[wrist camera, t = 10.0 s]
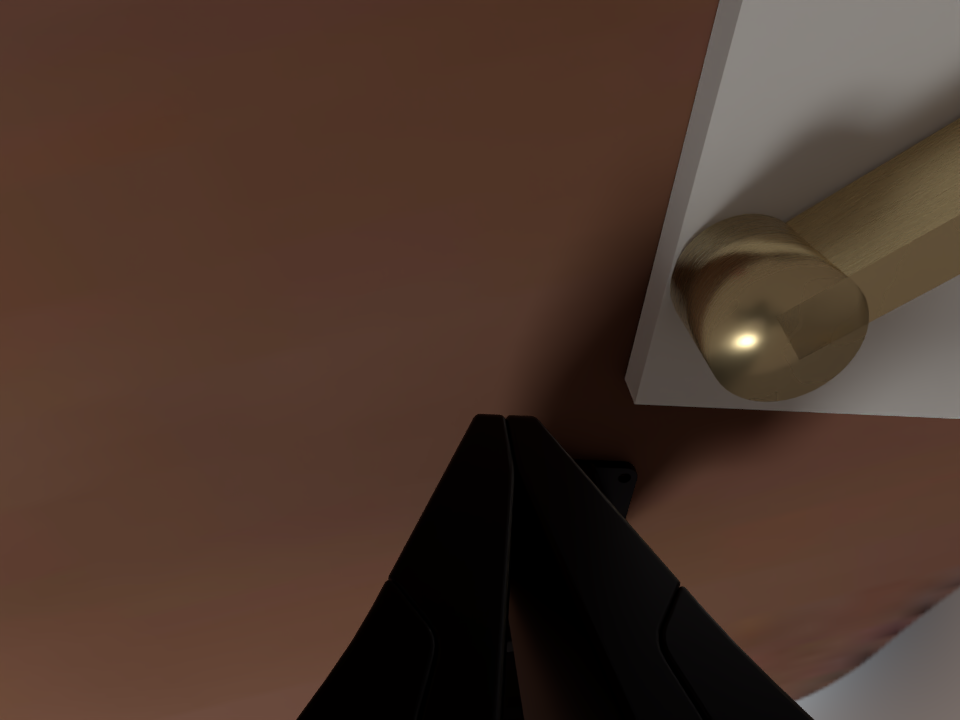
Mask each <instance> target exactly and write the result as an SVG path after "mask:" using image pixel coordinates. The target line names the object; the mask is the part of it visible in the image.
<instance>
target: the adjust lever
mask: <svg viewBox="0 0 960 720" xmlns="http://www.w3.org/2000/svg"><path fill="white" fill-rule="evenodd" d="M958 275H960V118H959V119H957V120H955V121H954V122H952V123H950V124H949V125H947V126H945V127H944V128H942V129H940V130H939V131H937V132H935V133H934V134H932V135H930V136H929V137H927V138H925V139H924V140H922V141H920V142H919V143H917V144H915V145H914V146H912V147H910V148H909V149H907V150H905V151H904V152H902V153H900V154H899V155H897V156H895V157H894V158H892V159H890V160H889V161H887V162H885V163H884V164H882V165H880V166H879V167H877V168H875V169H874V170H872V171H870V172H869V173H867V174H865V175H864V176H862V177H860V178H859V179H857V180H855V181H854V182H852V183H850V184H849V185H847V186H846V187H844V188H842V189H841V190H839V191H837V192H836V193H834V194H832V195H831V196H829V197H827V198H826V199H824V200H822V201H821V202H819V203H817V204H816V205H814V206H812V207H811V208H809V209H807V210H806V211H804V212H802V213H801V214H799V215H797V216H796V217H794V218H792V219H791V220H789V221H787V222H786V223H785V222H784V221H782V220H780V219H778V218H775V217H772V216H768V215H764V214H743V215H738V216H734V217H730V218H727V219H724V220H722V221H720V222H717V223H715V224H714V225H712V226H710V227H708V228H707V229H705V230H704V231H703V232H701V233H700V234H699V235H698V236H696V237H695V238H694V239H693V240H692V241H691V242H690V243H689V244H688V246H687V247H686V248H685V249H684V251H683V252H682V253H681V255H680V257H679V259H678V260H677V262H676V265H675V267H674V270H673V273H672V277H671V283H670V294H671V300H672V303H673V306H674V308H675V310H676V312H677V314H678V316H679V317H680V319H681V321H682V322H683V324H684V326H685V327H686V329H687V331H688V332H689V334H690V336H691V337H692V339H693V341H694V342H695V344H696V346H697V347H698V349H699V351H700V352H701V354H702V356H703V358H704V359H705V361H706V363H707V364H708V366H709V368H710V369H711V371H712V373H713V374H714V376H715V378H716V379H717V380H718V382H719V383H720V384H721V385H722V386H723V387H724V388H725V389H726V390H728V391H729V392H731V393H732V394H734V395H736V396H738V397H741V398H744V399H747V400H752V401H759V402H775V401H782V400H788V399H792V398H796V397H798V396H801V395H804V394H807V393H809V392H811V391H813V390H815V389H817V388H819V387H821V386H822V385H824V384H826V383H827V382H828V381H830V380H831V379H833V378H834V377H835V376H836V375H838V374H839V373H840V372H841V371H842V370H843V369H844V368H845V367H846V366H847V365H848V364H849V363H850V362H851V360H852V359H853V358H854V357H855V355H856V353H857V352H858V350H859V349H860V347H861V345H862V343H863V341H864V339H865V336H866V333H867V329H868V324H869V323H870V322H871V321H873V320H875V319H877V318H879V317H881V316H883V315H885V314H886V313H888V312H890V311H892V310H894V309H896V308H898V307H900V306H902V305H903V304H905V303H907V302H909V301H911V300H913V299H915V298H917V297H918V296H920V295H922V294H924V293H926V292H928V291H930V290H932V289H934V288H935V287H937V286H939V285H941V284H943V283H945V282H947V281H949V280H950V279H952V278H954V277H956V276H958Z"/></svg>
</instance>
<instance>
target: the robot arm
mask: <svg viewBox="0 0 960 720" xmlns="http://www.w3.org/2000/svg"><path fill="white" fill-rule="evenodd" d="M624 473H627V474H626V475H624V476H620V475H621V474H624ZM636 481H637V473H636V470H635V467H634V466H633V464H631V463H630V462H624V461H597V460H573V459H572V458H571V457H570V456H569V454H568V453H567V452H566V451H565V450H564V449H563V448H562V446H561V445H560V444H559V443H558V442H557V441H556V440H555V438H554V437H553V436H552V435H551V434H550V433H549V432H548V430H547V429H546V428H545V427H544V426H543V425H542V424H541V422H540V421H539V420H538V419H537V418H535V417H533V416H517V415H509V416H508V417H507V418H506V419H505V418H504V417H503V416H502V415H493V414H477V415H476V416H475V417H474V418H473V420H472V422H471V424H470V425H469V427H468V429H467V431H466V433H465V435H464V437H463V439H462V440H461V442H460V444H459V446H458V448H457V450H456V452H455V454H454V455H453V457H452V459H451V461H450V463H449V465H448V467H447V468H446V470H445V472H444V474H443V476H442V478H441V480H440V482H439V483H438V485H437V487H436V489H435V491H434V493H433V495H432V496H431V498H430V500H429V502H428V504H427V506H426V508H425V510H424V511H423V513H422V515H421V517H420V519H419V521H418V523H417V524H416V526H415V528H414V530H413V532H412V534H411V536H410V538H409V539H408V541H407V543H406V545H405V547H404V549H403V551H402V552H401V554H400V556H399V558H398V560H397V562H396V564H395V566H394V567H393V569H392V571H391V573H390V575H389V578H388V580H387V581H386V582H385V584H384V585H383V587H382V589H381V591H380V593H379V595H378V597H377V598H376V600H375V602H374V604H373V606H372V607H371V609H370V611H369V613H368V614H367V616H366V618H365V619H364V621H363V623H362V625H361V626H360V628H359V630H358V631H357V633H356V635H355V636H354V638H353V640H352V641H351V643H350V644H349V646H348V647H347V649H346V650H345V652H344V653H343V655H342V656H341V658H340V659H339V661H338V662H337V663H336V665H335V666H334V668H333V669H332V671H331V672H330V674H329V675H328V677H327V678H326V680H325V681H324V682H323V684H322V685H321V687H320V688H319V689H318V691H317V692H316V693H315V695H314V696H313V697H312V699H311V700H310V702H309V703H308V704H307V706H306V707H305V708H304V710H303V711H302V713H301V714H300V715H299V717H298V718H297V719H296V720H814V719H813V718H812V717H811V716H810V715H808V714H807V712H805V711H804V710H803V709H802V708H801V707H800V706H799V705H798V704H797V703H796V702H795V701H794V700H793V699H792V698H791V697H790V696H789V695H788V694H787V693H786V692H784V691H783V690H782V689H781V688H780V687H779V686H778V685H777V684H776V683H775V682H774V681H773V680H772V679H771V678H770V677H769V676H768V675H767V674H766V673H765V672H764V671H763V670H762V669H761V668H760V667H759V666H758V665H757V664H756V663H755V662H754V661H753V660H752V659H751V658H750V657H749V656H748V655H747V654H746V653H745V652H744V651H743V650H742V649H741V648H740V647H739V646H738V645H737V644H736V643H735V642H734V641H733V640H732V639H731V638H730V637H729V636H728V635H727V633H726V632H725V631H724V630H723V629H722V628H721V627H720V626H719V625H718V624H717V623H716V621H715V620H714V619H713V618H712V617H711V616H710V615H709V614H708V613H707V612H706V611H705V610H704V608H703V607H702V606H701V605H700V604H699V603H698V602H697V600H696V599H695V598H694V597H693V596H692V595H691V594H690V592H689V591H688V590H687V589H686V588H685V587H683V586H682V587H680V581H679V580H678V579H677V578H676V577H675V576H674V574H673V573H672V572H671V571H670V570H669V569H668V568H667V566H666V565H665V564H664V563H663V562H662V561H661V560H660V558H659V557H658V556H657V555H656V554H655V553H654V552H653V550H652V549H651V548H650V547H649V546H648V545H647V544H646V542H645V541H644V540H643V539H642V538H641V537H640V536H639V534H638V533H637V532H636V531H635V530H634V529H633V528H632V526H631V525H630V524H629V523H628V522H627V521H626V520H625V518H626V515H627V511H628V508H629V505H630V501H631V498H632V494H633V491H634V488H635V484H636ZM679 587H680V588H679Z"/></svg>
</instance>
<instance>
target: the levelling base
mask: <svg viewBox="0 0 960 720" xmlns="http://www.w3.org/2000/svg"><path fill="white" fill-rule="evenodd" d="M959 118H960V0H720V1H719V5H718V9H717V13H716V17H715V21H714V25H713V29H712V33H711V37H710V41H709V45H708V49H707V53H706V57H705V61H704V65H703V69H702V73H701V77H700V81H699V85H698V89H697V93H696V97H695V101H694V105H693V109H692V113H691V117H690V121H689V125H688V129H687V133H686V137H685V141H684V145H683V149H682V153H681V157H680V160H679V164H678V168H677V172H676V176H675V180H674V184H673V188H672V192H671V196H670V200H669V204H668V208H667V212H666V216H665V220H664V224H663V228H662V232H661V236H660V240H659V244H658V248H657V252H656V256H655V260H654V264H653V268H652V272H651V276H650V280H649V284H648V288H647V292H646V296H645V300H644V304H643V308H642V312H641V316H640V320H639V324H638V328H637V332H636V336H635V340H634V344H633V348H632V352H631V356H630V360H629V364H628V368H627V372H626V376H625V381H626V384H627V386H628V389H629V391H630V394H631V396H632V399H633V401H634V404H641V405H664V406H686V407H708V408H730V409H753V410H775V411H797V412H819V413H842V414H864V415H886V416H908V417H931V418H953V419H960V275H958V276H956V277H954V278H952V279H950V280H949V281H947V282H945V283H943V284H941V285H939V286H937V287H935V288H934V289H932V290H930V291H928V292H926V293H924V294H922V295H920V296H918V297H917V298H915V299H913V300H911V301H909V302H907V303H905V304H903V305H902V306H900V307H898V308H896V309H894V310H892V311H890V312H888V313H886V314H885V315H883V316H881V317H879V318H877V319H875V320H873V321H871V322H870V323H869V324H868V329H867V333H866V336H865V339H864V341H863V343H862V345H861V347H860V349H859V350H858V352H857V353H856V355H855V357H854V358H853V359H852V360H851V362H850V363H849V364H848V365H847V366H846V367H845V368H844V369H843V370H842V371H841V372H840V373H839V374H838V375H836V376H835V377H834V378H833V379H831V380H830V381H828V382H827V383H826V384H824V385H822V386H821V387H819V388H817V389H815V390H813V391H811V392H809V393H807V394H804V395H801V396H798V397H796V398H792V399H788V400H782V401H775V402H759V401H752V400H747V399H744V398H741V397H738V396H736V395H734V394H732V393H731V392H729V391H728V390H726V389H725V388H724V387H723V386H722V385H721V384H720V383H719V382H718V380H717V379H716V378H715V376H714V374H713V373H712V371H711V369H710V368H709V366H708V364H707V363H706V361H705V359H704V358H703V356H702V354H701V352H700V351H699V349H698V347H697V346H696V344H695V342H694V341H693V339H692V337H691V336H690V334H689V332H688V331H687V329H686V327H685V326H684V324H683V322H682V321H681V319H680V317H679V316H678V314H677V312H676V310H675V308H674V306H673V303H672V300H671V294H670V283H671V277H672V273H673V270H674V267H675V265H676V262H677V260H678V259H679V257H680V255H681V253H682V252H683V251H684V249H685V248H686V247H687V246H688V244H689V243H690V242H691V241H692V240H693V239H694V238H695V237H696V236H698V235H699V234H700V233H701V232H703V231H704V230H705V229H707V228H708V227H710V226H712V225H714V224H715V223H717V222H720V221H722V220H724V219H727V218H730V217H734V216H738V215H743V214H764V215H768V216H772V217H775V218H778V219H780V220H782V221H784V222H785V223H786V222H787V221H789V220H791V219H792V218H794V217H796V216H797V215H799V214H801V213H802V212H804V211H806V210H807V209H809V208H811V207H812V206H814V205H816V204H817V203H819V202H821V201H822V200H824V199H826V198H827V197H829V196H831V195H832V194H834V193H836V192H837V191H839V190H841V189H842V188H844V187H846V186H847V185H849V184H850V183H852V182H854V181H855V180H857V179H859V178H860V177H862V176H864V175H865V174H867V173H869V172H870V171H872V170H874V169H875V168H877V167H879V166H880V165H882V164H884V163H885V162H887V161H889V160H890V159H892V158H894V157H895V156H897V155H899V154H900V153H902V152H904V151H905V150H907V149H909V148H910V147H912V146H914V145H915V144H917V143H919V142H920V141H922V140H924V139H925V138H927V137H929V136H930V135H932V134H934V133H935V132H937V131H939V130H940V129H942V128H944V127H945V126H947V125H949V124H950V123H952V122H954V121H955V120H957V119H959Z"/></svg>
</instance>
